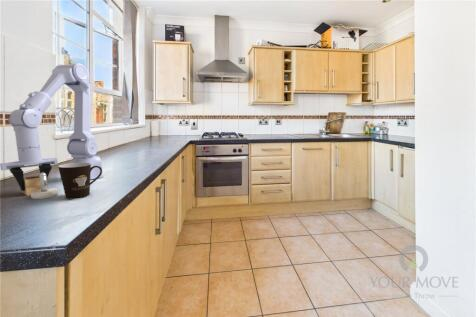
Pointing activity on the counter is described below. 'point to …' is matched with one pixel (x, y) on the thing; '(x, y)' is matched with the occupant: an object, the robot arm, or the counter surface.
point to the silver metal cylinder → (43, 182)
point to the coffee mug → (77, 179)
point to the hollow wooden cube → (31, 184)
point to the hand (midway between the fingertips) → (33, 188)
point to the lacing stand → (44, 193)
